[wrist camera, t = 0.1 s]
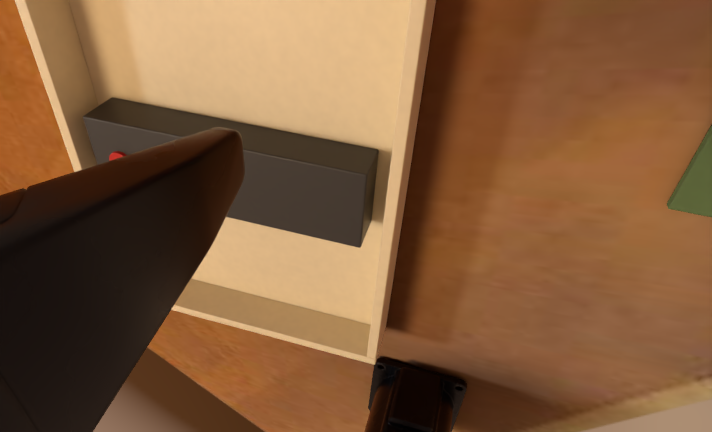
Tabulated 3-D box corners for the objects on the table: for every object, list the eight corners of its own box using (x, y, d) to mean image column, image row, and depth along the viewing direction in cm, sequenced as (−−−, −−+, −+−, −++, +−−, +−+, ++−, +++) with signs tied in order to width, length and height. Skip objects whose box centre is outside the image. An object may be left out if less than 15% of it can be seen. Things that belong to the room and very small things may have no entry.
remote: (379, 148, 25) (366, 177, 23) (371, 220, 28) (359, 251, 26) (111, 96, 28) (78, 118, 26) (130, 167, 30) (102, 191, 28)
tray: (386, 327, 34) (374, 365, 32) (143, 265, 37) (117, 295, 35) (445, -61, 19) (433, -44, 17) (37, -110, 22) (-22, -102, 20)
